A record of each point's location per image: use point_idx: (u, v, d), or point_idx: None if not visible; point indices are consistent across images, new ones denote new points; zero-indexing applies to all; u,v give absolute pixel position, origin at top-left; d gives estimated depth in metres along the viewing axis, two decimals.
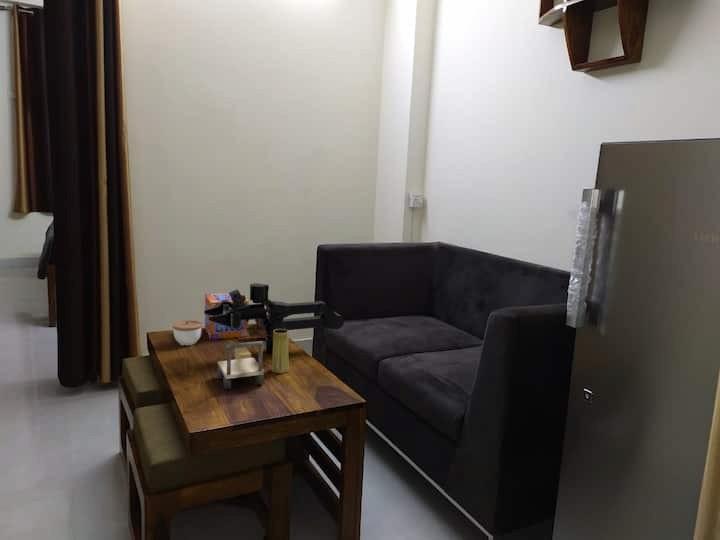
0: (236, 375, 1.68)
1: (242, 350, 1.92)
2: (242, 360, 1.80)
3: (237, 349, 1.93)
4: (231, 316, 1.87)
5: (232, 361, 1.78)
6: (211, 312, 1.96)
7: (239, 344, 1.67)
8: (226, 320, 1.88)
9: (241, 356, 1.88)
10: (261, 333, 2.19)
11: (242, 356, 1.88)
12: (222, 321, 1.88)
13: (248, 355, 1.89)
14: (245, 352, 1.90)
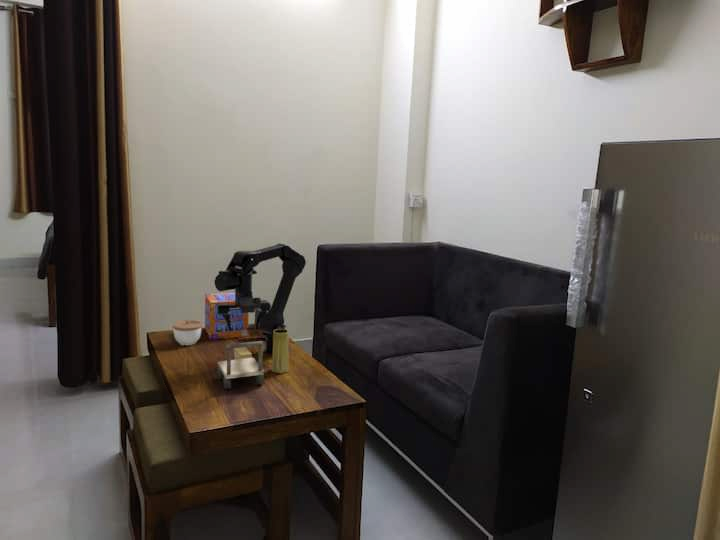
0: (236, 375, 1.68)
1: (242, 350, 1.92)
2: (242, 360, 1.80)
3: (237, 349, 1.93)
4: None
5: (232, 361, 1.78)
6: None
7: (239, 344, 1.67)
8: None
9: (241, 356, 1.88)
10: (261, 333, 2.19)
11: (242, 356, 1.88)
12: None
13: (248, 355, 1.89)
14: (245, 352, 1.90)
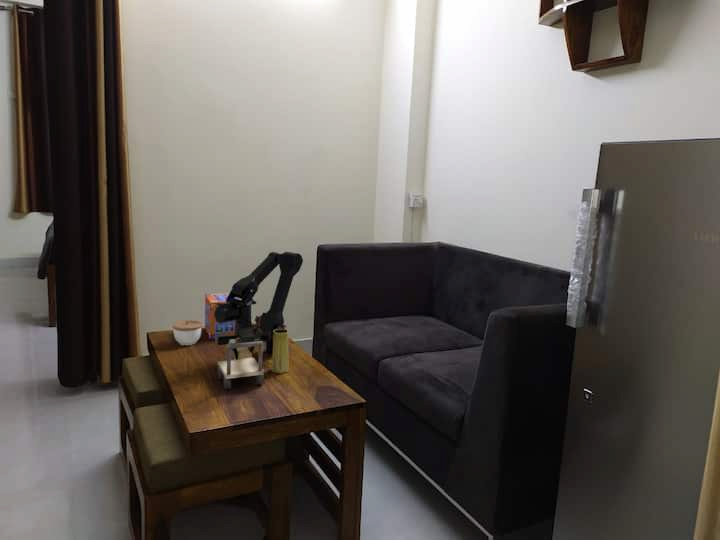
0: (236, 375, 1.68)
1: (242, 350, 1.92)
2: (242, 360, 1.80)
3: (237, 349, 1.93)
4: None
5: (232, 361, 1.78)
6: None
7: (239, 344, 1.67)
8: None
9: (242, 356, 1.88)
10: None
11: (242, 355, 1.88)
12: None
13: (249, 354, 1.89)
14: (245, 352, 1.90)
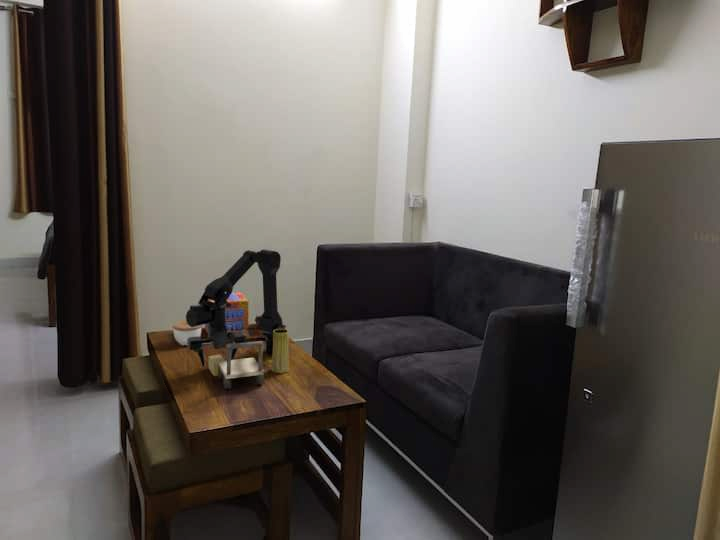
0: (236, 375, 1.68)
1: (216, 358, 1.83)
2: (242, 360, 1.80)
3: (211, 357, 1.84)
4: None
5: (232, 361, 1.78)
6: None
7: (239, 344, 1.67)
8: None
9: (215, 365, 1.79)
10: (261, 333, 2.19)
11: (216, 365, 1.79)
12: None
13: None
14: None
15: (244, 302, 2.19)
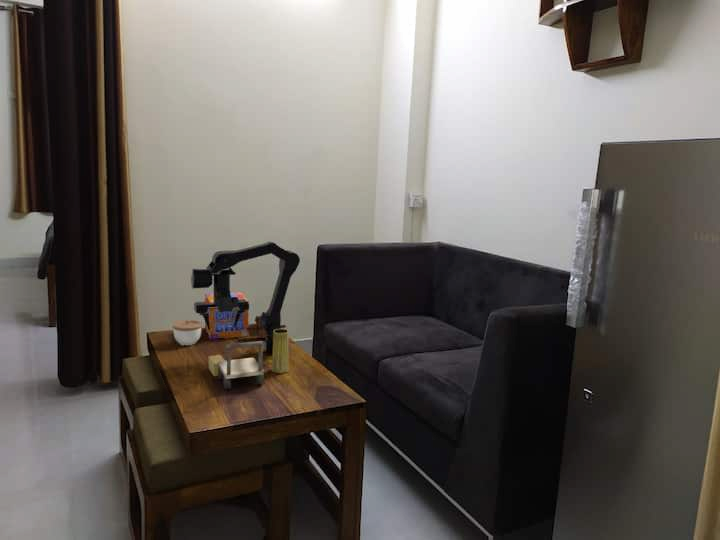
0: (236, 375, 1.68)
1: (216, 358, 1.83)
2: (242, 360, 1.80)
3: (211, 357, 1.84)
4: None
5: (232, 361, 1.78)
6: None
7: (239, 344, 1.67)
8: None
9: (215, 365, 1.78)
10: (261, 333, 2.19)
11: (216, 365, 1.79)
12: None
13: None
14: None
15: None
